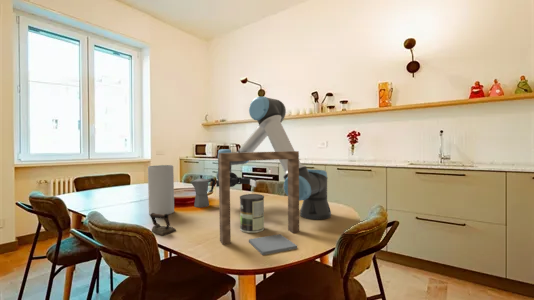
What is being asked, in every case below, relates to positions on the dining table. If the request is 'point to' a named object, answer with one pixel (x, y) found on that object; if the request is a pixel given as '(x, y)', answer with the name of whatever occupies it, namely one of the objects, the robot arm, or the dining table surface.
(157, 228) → the clothes iron
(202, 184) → the coffeepot
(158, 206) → the cylinder vase
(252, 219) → the coffee can
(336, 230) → the dining table surface
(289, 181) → the walnut archway
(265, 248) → the slate mat
